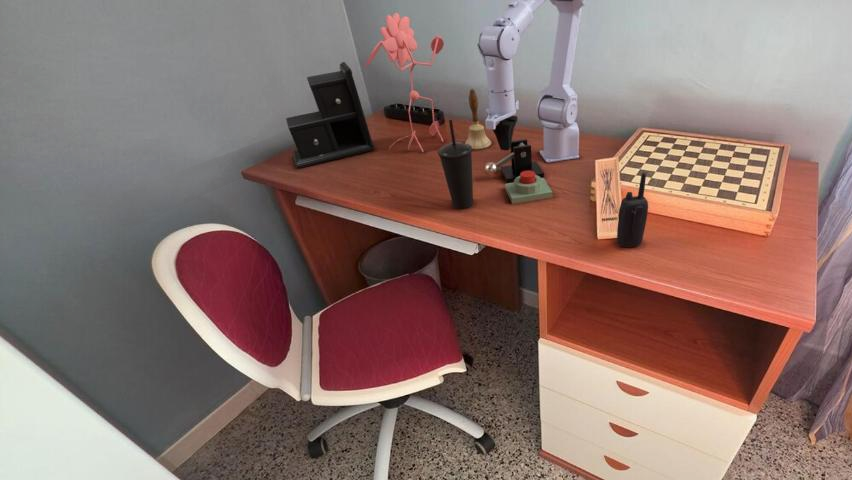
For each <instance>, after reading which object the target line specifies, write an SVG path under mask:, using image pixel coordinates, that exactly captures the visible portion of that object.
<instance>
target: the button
mask: <svg viewBox="0 0 852 480" xmlns="http://www.w3.org/2000/svg"><path fill="white" fill-rule="evenodd" d="M520 182H521V183H522V184H533V183H535V172H533V171H523V172H521V173H520Z"/></svg>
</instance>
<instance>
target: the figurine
mask: <svg viewBox="0 0 852 480" xmlns="http://www.w3.org/2000/svg"><path fill="white" fill-rule="evenodd" d="M410 24H411V23H410V18H409V17H408V16H406V15H404V16H402V17H401V16H400V14H399V13H398V12H395V13H393V15H392V16H391V15H390V14H387V15H386V17H385V25H386V27H384V26H381V28H380V33H381V36H382V38H383V39H384V41H383V40H380V41H379V42H378V43H377V45H376V46H375V47H374V48H373V50H372V52H371V53H370V55H369V57H368V59H367V61H366V64H365V68H368V67H369V65H370V64H371V63H372V62H373V60H374V59H375V57H376V56H377V54H378V52H379V50H380V49H381V47H382V48H383V49H384V51H385V52H386V53H387V60H388V61H390V62H393V64H394V65H395V67H396V68H397V69H398V70H399V73H400V72H402V71H405V70H406V69H408V68H410V67H411V68H410V69H409V70H410V71H409V75H410V85H411V86H410V87H411V91H410V92H409V98H410V99H409V105H408V110H407V111H408V118H409V124H410V129H411V135H410V134H409V135H407V136H404V137H402V138H398V139H397V140H396V141H395V142H393V143H392V144H391V145H390V147H392V146H393V145H394V144H395V143H398V141H401V140H403V139H405V138H408V137H410V136H411V137H410V139H409V142H408V144H407V148H406V151H409V149H410V147H411V144H412V142H413V141H414V139H415V141H416V143H417V146H418V148H419V150H420V151H421V152H422V153H424V151H425V150H424V149H423V147H422V144H421V143H420V141H419V139H418V138H417V136H416V130H414V129H413V124H412V117H411V105H412V101H414V102H415V101H418V100H419V99H420V98H421V99H424V100H427V101H431V111H432V123H431V124H430V127H429V130H428V133H429V135H430V136H432V137H435V135H436V134H438V137H439V139H440V140H441V142H442V143H443V142H445V141H444V138H443V137H442V135H441V132H440V131H439V128H440V123H439V121H435V112H434V111H435V110H434V101H433V99H432V98H429V97H425V96H421V95H420V94H419V92H418V91H416V90H414V82H413V81H414V80H413V70H414V67H415V66H417V65H421V66H430V67H432V66H433V62H434V59H435V55H438V54H439V53H441V51H442V50H443V48H444V46H445V44H444V43H445V42H444V40H443V38H442V37H441V36H440V35H438V34H437V35H436V36H435V37H434V38H433V39H431V42H430V48H431V51H432V55H431V59H430V62H428V63H427V62H420V61H416V60H415V59H414V57H413V54H412V51H413V52H414V51H417V50H418V44H417V41H416V39H415V38H414V36H415V32H414V30H413V29H412V28H411V27H410ZM396 60H397V62H396ZM406 62H408V64H406ZM405 64H406V65H405ZM400 67H401V68H400ZM454 136H457V134H455V133H454ZM388 150H389V151H391V148H389V149H388Z"/></svg>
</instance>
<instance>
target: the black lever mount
mask: <svg viewBox="0 0 852 480" xmlns="http://www.w3.org/2000/svg"><path fill="white" fill-rule="evenodd" d="M522 142H523V144H524V146H517V145H519V144H520V143H522ZM516 146H517V147H516ZM509 150H510V154H511V153H513V152H514V158H513V159H511V160H510V161H511V164H510V165H502V166H501V167H499V169H500V172H501V174H502V176H503V178H504V180H505V184H508V183H514V180H515V179H516V177H519V176H520V173H521V172H523V171H533V172H535V175H537V176H539V177H540V178H544V179H545V172H544V171H543V170H542V168H541V166H540V164H539V163H538V161H533V160H532V159H533V157H532V145H531V144H528V139H527V138H524V139H517V140H512V142H511V148H510V149H509Z"/></svg>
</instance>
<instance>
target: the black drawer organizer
mask: <svg viewBox="0 0 852 480" xmlns="http://www.w3.org/2000/svg"><path fill="white" fill-rule="evenodd" d="M306 80H307V83H308V85H309V88H310V90H311V93H312V95H313V98H314V101H315V104H316V107H317V111H314V112H309V113H304V114H299V115H294V116H290V117H286V118H285V120H286V124H287V128H288V130H289V133H290V135H291V137H292V140H293V142H294V144H295V147H296V149H295V150H293V151H292V152H293V154H292V155H293V160H294V164H295V167H296V169H302V168H307V167H309V166H315V165H318V164H322V163H326V162H331V161H334V160H338V159H342V158H347V157H351V156H354V155H359V154H363V153H368V152H372V151H375V146H374V143H373V140H372V137H371V133H370V130H369V126H368V123H367V119H366V117H365V112H364V109H363V107H362V102H361V100H360V97H359V96H360V95H359V93H358V89H357V86H356V82H355V79H354V76H353V71H352V69H351V67H350V66H348V64H347V63H346V62H345V61H342V62H341V63H340V64H339V71H333V72H326V73H322V74H316V75H311V76H307V77H306Z"/></svg>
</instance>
